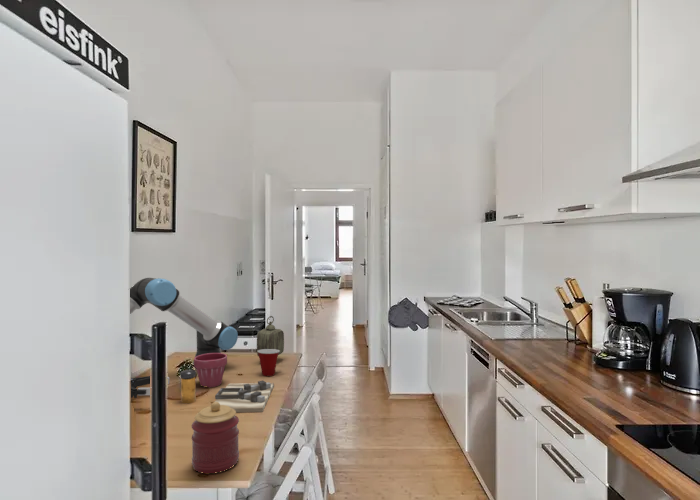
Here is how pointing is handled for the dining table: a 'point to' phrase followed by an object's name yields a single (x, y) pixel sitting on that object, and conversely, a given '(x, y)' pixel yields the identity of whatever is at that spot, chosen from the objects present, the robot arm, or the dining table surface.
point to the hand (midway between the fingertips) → (162, 385)
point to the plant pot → (210, 368)
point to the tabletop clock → (270, 338)
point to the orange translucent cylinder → (188, 386)
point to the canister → (215, 439)
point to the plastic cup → (268, 361)
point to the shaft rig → (245, 396)
